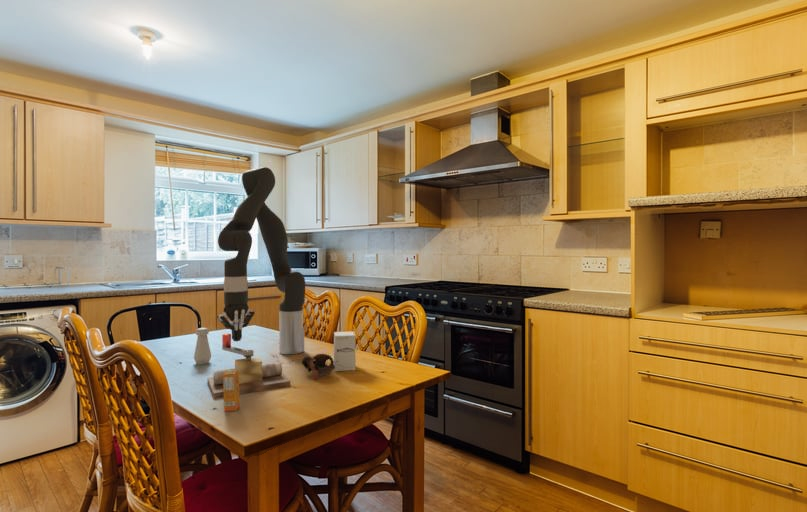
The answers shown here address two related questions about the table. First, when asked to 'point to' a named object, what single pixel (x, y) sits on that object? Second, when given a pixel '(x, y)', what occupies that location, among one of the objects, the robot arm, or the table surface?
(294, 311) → the robot arm
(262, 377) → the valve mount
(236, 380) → the supplement box
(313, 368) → the pottery mug
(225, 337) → the valve lever
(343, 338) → the supplement box
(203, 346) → the salt shaker
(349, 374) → the table surface
